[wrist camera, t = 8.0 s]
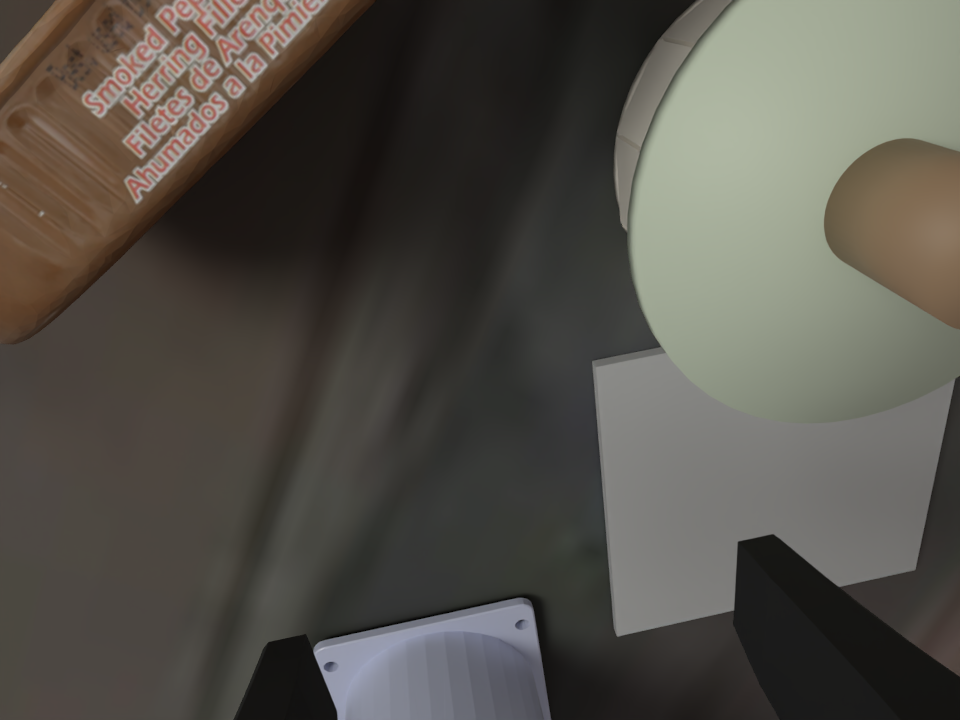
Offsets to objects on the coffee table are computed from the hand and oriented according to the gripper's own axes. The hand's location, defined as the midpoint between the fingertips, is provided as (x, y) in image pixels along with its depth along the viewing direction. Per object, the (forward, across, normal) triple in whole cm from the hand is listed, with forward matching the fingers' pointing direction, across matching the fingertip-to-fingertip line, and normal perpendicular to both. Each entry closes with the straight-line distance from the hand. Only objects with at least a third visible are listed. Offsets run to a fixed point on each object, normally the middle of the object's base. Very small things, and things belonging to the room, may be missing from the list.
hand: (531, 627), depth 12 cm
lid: (+6, -9, -4) cm, 12 cm away
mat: (+10, -10, +8) cm, 16 cm away
